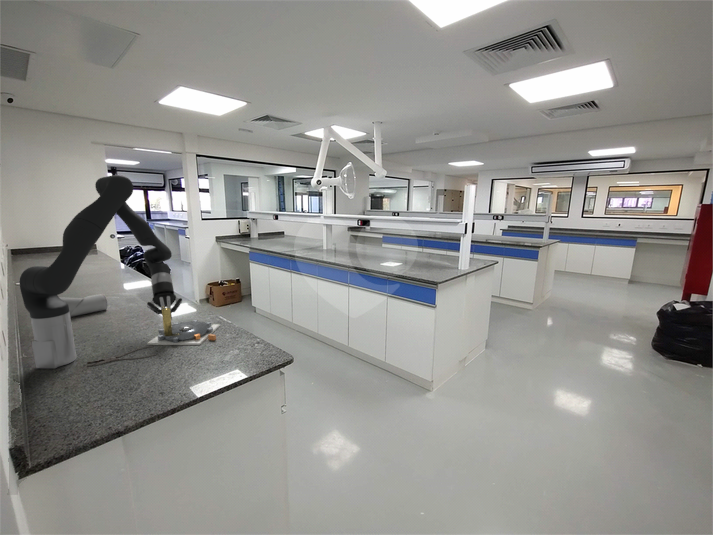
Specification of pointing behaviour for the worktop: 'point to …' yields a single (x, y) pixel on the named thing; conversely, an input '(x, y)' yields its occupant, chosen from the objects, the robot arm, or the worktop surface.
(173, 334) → the sprocket
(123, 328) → the worktop surface
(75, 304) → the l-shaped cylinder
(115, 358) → the pliers
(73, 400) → the worktop surface
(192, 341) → the base plate
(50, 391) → the worktop surface
